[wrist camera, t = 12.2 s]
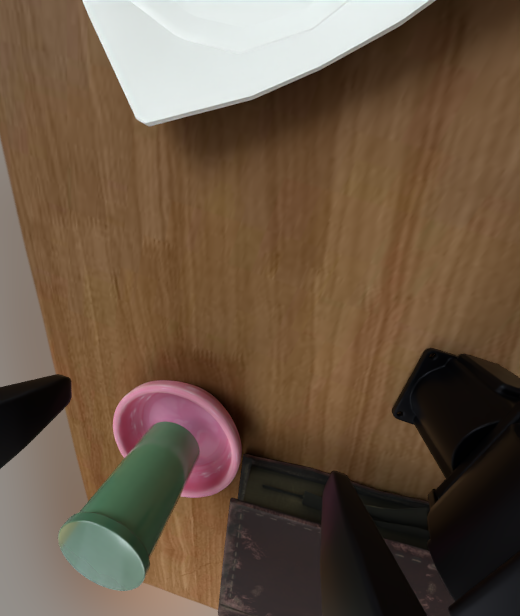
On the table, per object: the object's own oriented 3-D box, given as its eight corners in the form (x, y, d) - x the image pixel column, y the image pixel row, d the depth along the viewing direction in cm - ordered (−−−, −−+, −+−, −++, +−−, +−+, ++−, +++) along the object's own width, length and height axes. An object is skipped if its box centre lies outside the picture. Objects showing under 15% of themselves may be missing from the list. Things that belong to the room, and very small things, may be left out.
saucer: (180, 482, 27) (164, 513, 24) (111, 397, 26) (85, 418, 23) (271, 448, 24) (266, 478, 21) (198, 345, 22) (181, 362, 19)
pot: (196, 479, 22) (139, 604, 15) (140, 456, 23) (57, 566, 15) (208, 432, 20) (150, 547, 13) (147, 409, 21) (57, 506, 13)
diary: (451, 634, 26) (484, 722, 21) (230, 562, 30) (215, 624, 25) (529, 515, 21) (596, 598, 16) (245, 444, 24) (230, 494, 19)
